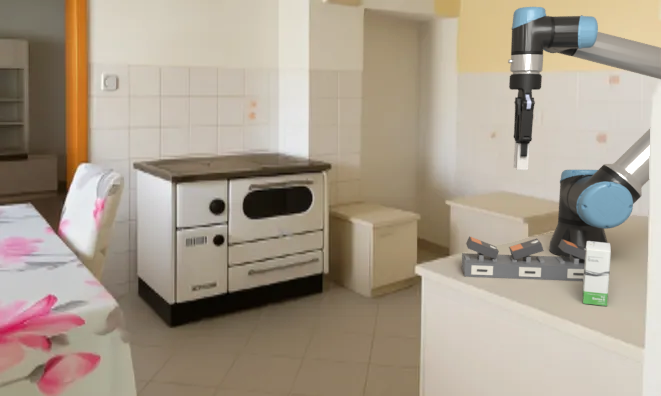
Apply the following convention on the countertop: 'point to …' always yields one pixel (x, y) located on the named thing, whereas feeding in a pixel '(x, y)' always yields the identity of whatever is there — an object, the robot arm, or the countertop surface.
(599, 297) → the ink box
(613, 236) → the countertop surface
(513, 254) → the rocker
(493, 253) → the rocker
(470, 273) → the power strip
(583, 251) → the rocker
